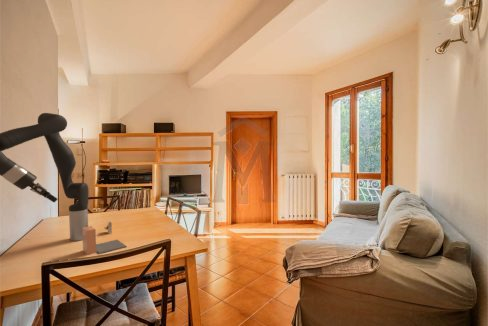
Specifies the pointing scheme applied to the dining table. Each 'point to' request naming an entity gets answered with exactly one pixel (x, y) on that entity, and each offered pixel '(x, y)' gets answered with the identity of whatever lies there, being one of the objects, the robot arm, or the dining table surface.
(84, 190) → the robot arm
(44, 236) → the dining table surface
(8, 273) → the dining table surface
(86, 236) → the pink rectangular block
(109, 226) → the architectural model
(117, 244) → the mat
